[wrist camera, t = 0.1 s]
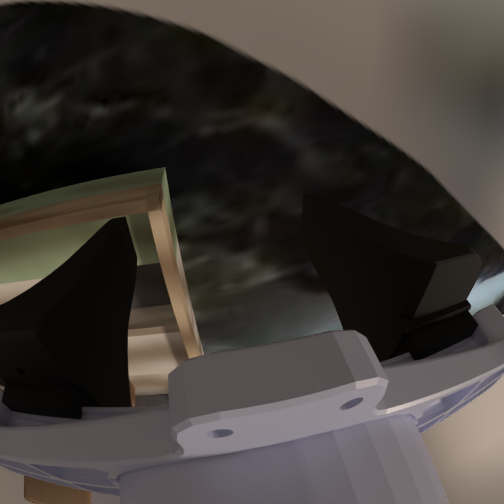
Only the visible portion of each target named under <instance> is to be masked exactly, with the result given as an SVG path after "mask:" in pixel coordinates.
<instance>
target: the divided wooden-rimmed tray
mask: <svg viewBox="0 0 504 504" xmlns="http://www.w3.org/2000/svg"><path fill="white" fill-rule="evenodd" d="M123 216H126V219H127V223H128V227H129V230H130V234H131V237H132V241H133V244H134V248H135V251H136V255H137V276H136V283H135V289H134V295H133V300H132V306H131V313H130V319H129V327H128V371H129V380H130V381H131V383H132V384H133V386H134V387H135V395H153V394H167V393H168V374H169V373H170V372H171V371H173V370H174V369H175V368H176V367H178V366H179V365H180V364H181V363H183V362H184V361H185V360H187V359H190V358H194V357H197V356H201V355H204V352H203V349H202V345H201V341H200V337H199V333H198V329H197V325H196V321H195V317H194V313H193V309H192V305H191V301H190V296H189V292H188V288H187V283H186V279H185V274H184V269H183V265H182V260H181V255H180V250H179V245H178V240H177V235H176V229H175V224H174V219H173V213H172V207H171V202H170V196H169V190H168V183H167V177H166V171H165V167H164V168H157V169H151V170H145V171H139V172H133V173H128V174H122V175H117V176H112V177H107V178H102V179H97V180H92V181H88V182H83V183H79V184H75V185H70V186H66V187H62V188H58V189H54V190H50V191H46V192H43V193H39V194H35V195H32V196H28V197H25V198H21V199H18V200H15V201H11V202H8V203H5V204H2V205H0V305H1V304H3V303H5V302H7V301H9V300H11V299H13V298H14V297H16V296H18V295H19V294H21V293H23V292H24V291H26V290H28V289H29V288H31V287H32V286H34V285H35V284H36V283H38V282H39V281H41V280H42V279H43V278H45V277H46V276H48V275H49V274H50V273H52V272H53V271H54V270H55V269H57V268H58V267H59V266H60V265H62V264H63V263H64V262H65V261H66V260H67V259H69V258H70V257H71V256H72V255H73V254H74V253H75V252H76V251H77V250H78V249H79V248H80V247H81V246H83V245H84V244H85V243H86V242H87V241H88V240H89V239H90V238H91V237H92V236H93V235H94V234H95V233H96V232H97V231H98V230H99V229H100V228H101V227H102V226H103V225H104V224H105V223H107V222H108V221H109V220H110V219H112V218H117V217H123Z"/></svg>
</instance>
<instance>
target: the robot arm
mask: <svg viewBox="0 0 504 504" xmlns="http://www.w3.org/2000/svg"><path fill="white" fill-rule="evenodd" d="M300 237H301V239H302V242H303V245H304V248H305V250H306V252H307V255H308V257H309V259H310V261H311V262H312V264H313V266H314V268H315V269H316V271H317V273H318V275H319V277H320V278H321V280H322V282H323V284H324V286H325V287H326V289H327V291H328V293H329V295H330V297H331V299H332V301H333V303H334V306H335V308H336V311H337V313H338V316H339V319H340V321H341V324H342V327H343V330H338V331H327V332H323V333H319V334H314V335H309V336H305V337H300V338H295V339H290V340H285V341H280V342H274V343H269V344H263V345H257V346H252V347H245V348H239V349H233V350H226V351H219V352H212V353H208V354H204V355H201V356H197V357H194V358H190V359H187V360H185V361H184V362H183V363H181V364H180V365H179V366H178V367H176V368H175V369H174V370H173V371H171V372H170V373H169V374H168V398H169V404H165V405H161V406H146V407H132V403H131V395H130V384H129V371H128V327H129V319H130V313H131V306H132V300H133V295H134V289H135V283H136V276H137V255H136V251H135V248H134V244H133V241H132V237H131V234H130V230H129V227H128V223H127V219H126V216H123V217H117V218H112V219H110V220H109V221H108V222H107V223H105V224H104V225H103V226H102V227H101V228H100V229H99V230H98V231H97V232H96V233H95V234H94V235H93V236H92V237H91V238H90V239H89V240H88V241H87V242H86V243H85V244H84V245H83V246H81V247H80V248H79V249H78V250H77V251H76V252H75V253H74V254H73V255H72V256H71V257H70V258H69V259H67V260H66V261H65V262H64V263H63V264H62V265H60V266H59V267H58V268H57V269H55V270H54V271H53V272H52V273H50V274H49V275H48V276H46V277H45V278H43V279H42V280H41V281H39V282H38V283H36V284H35V285H34V286H32V287H31V288H29V289H28V290H26V291H24V292H23V293H21V294H19V295H18V296H16V297H14V298H13V299H11V300H9V301H7V302H5V303H3V304H1V305H0V378H1V379H2V380H3V381H4V382H5V383H6V385H5V389H4V391H3V390H2V389H0V466H2V467H4V468H6V469H8V470H10V471H13V472H16V473H19V474H22V475H25V476H29V477H32V478H35V479H39V480H42V481H46V482H50V483H54V484H58V485H62V486H66V487H71V488H75V489H80V490H85V491H90V492H97V493H103V494H109V495H117V496H120V503H121V504H449V501H448V498H447V496H446V493H445V491H444V488H443V486H442V483H441V481H440V478H439V476H438V473H437V471H436V469H435V466H434V464H433V462H432V459H431V457H430V455H429V453H428V450H427V448H426V446H425V444H424V442H423V440H422V437H421V435H420V434H421V433H423V432H424V431H426V430H428V429H429V428H431V427H433V426H434V425H436V424H438V423H439V422H441V421H443V420H444V419H446V418H447V417H449V416H450V415H452V414H453V413H455V412H456V411H458V410H459V409H461V408H462V407H464V406H465V405H467V404H468V403H469V402H471V401H472V400H474V399H475V398H477V397H478V396H480V395H481V394H482V393H484V392H485V391H487V390H488V389H489V388H491V387H492V386H493V385H494V384H495V383H496V382H497V381H498V380H499V379H500V378H501V377H502V376H503V375H504V317H503V315H502V314H501V313H500V311H499V310H498V309H497V308H496V306H495V305H494V304H492V305H490V306H488V307H486V308H484V309H481V310H479V311H478V312H476V313H475V314H474V315H473V316H472V315H471V314H470V313H469V311H468V310H470V308H471V304H470V303H469V302H468V301H467V297H468V295H469V294H470V292H471V290H472V288H473V286H474V284H475V282H476V280H477V278H478V276H479V273H480V269H481V259H480V257H479V255H478V254H477V253H476V252H475V251H474V250H473V249H472V248H471V247H470V246H468V245H465V244H458V243H451V242H445V241H440V240H435V239H431V238H426V237H422V236H419V235H415V234H412V233H408V232H405V231H402V230H399V229H396V228H393V227H391V226H388V225H386V224H383V223H381V222H378V221H376V220H374V219H371V218H369V217H367V216H365V215H363V214H361V213H358V212H356V211H354V210H352V209H350V208H348V207H346V206H344V205H342V204H340V203H338V202H336V201H334V200H332V199H330V198H328V197H326V196H323V195H321V194H318V193H316V194H304V195H303V209H302V222H301V234H300Z"/></svg>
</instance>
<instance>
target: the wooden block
mask: <svg viewBox="0 0 504 504" xmlns="http://www.w3.org/2000/svg"><path fill="white" fill-rule="evenodd" d="M24 497H25V499H26V500H27V501H30V502H32V503H36V504H91V492H90V491H85V490H80V489H75V488H71V487H66V486H62V485H58V484H54V483H50V482H46V481H42V480H39V479H35V478H32V477H29V476H25V475H24Z"/></svg>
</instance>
